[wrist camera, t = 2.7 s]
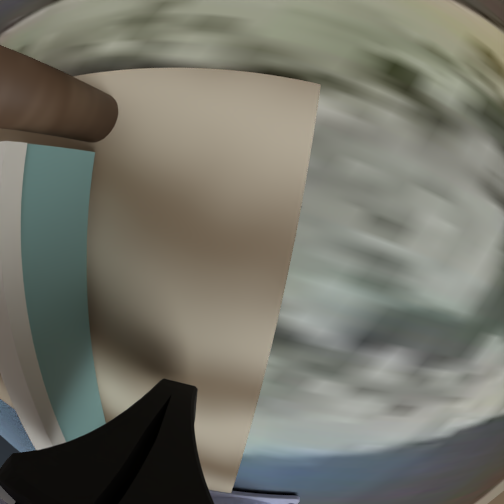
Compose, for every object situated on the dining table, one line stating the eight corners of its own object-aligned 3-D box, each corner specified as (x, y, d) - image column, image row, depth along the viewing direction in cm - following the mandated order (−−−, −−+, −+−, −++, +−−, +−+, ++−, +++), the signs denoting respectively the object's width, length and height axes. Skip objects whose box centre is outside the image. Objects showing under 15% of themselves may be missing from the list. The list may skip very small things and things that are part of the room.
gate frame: (232, 482, 14) (221, 566, 7) (4, 391, 14) (-40, 434, 7) (315, 93, 9) (381, -25, 2) (-19, 107, 9) (-95, 99, 3)
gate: (111, 433, 12) (79, 490, 7) (87, 423, 12) (52, 475, 7) (99, 152, 8) (6, 140, 4) (68, 151, 9) (-23, 144, 4)
